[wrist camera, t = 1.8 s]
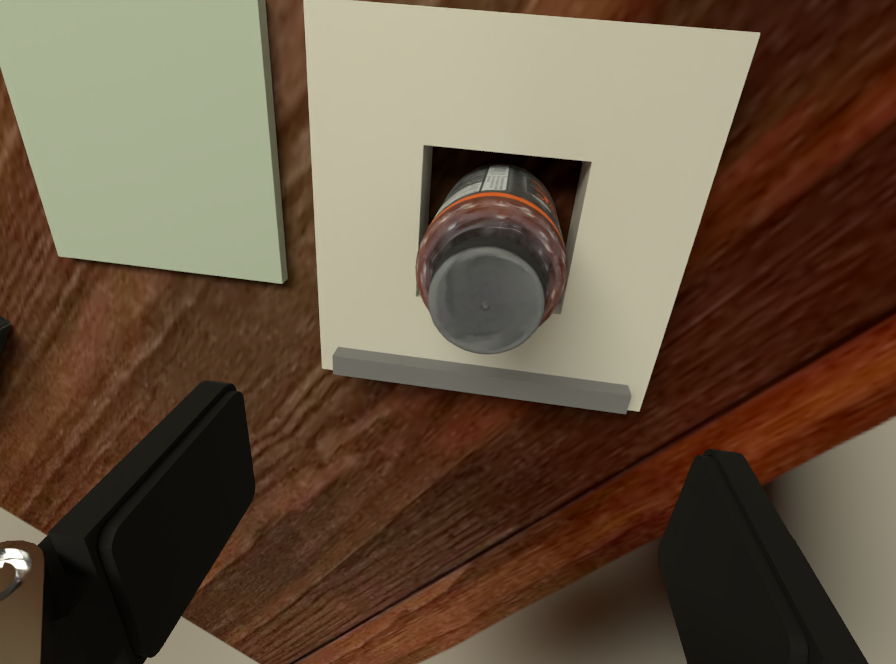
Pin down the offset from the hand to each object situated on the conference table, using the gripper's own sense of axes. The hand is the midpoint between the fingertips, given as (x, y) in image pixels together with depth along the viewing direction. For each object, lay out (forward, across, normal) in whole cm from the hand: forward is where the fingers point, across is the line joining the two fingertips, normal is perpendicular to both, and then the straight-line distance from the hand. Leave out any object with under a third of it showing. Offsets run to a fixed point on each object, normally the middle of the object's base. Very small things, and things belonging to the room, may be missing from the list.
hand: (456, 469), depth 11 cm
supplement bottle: (+19, 0, 0) cm, 19 cm away
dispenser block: (+19, 0, 0) cm, 19 cm away
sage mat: (+19, +19, -2) cm, 27 cm away
